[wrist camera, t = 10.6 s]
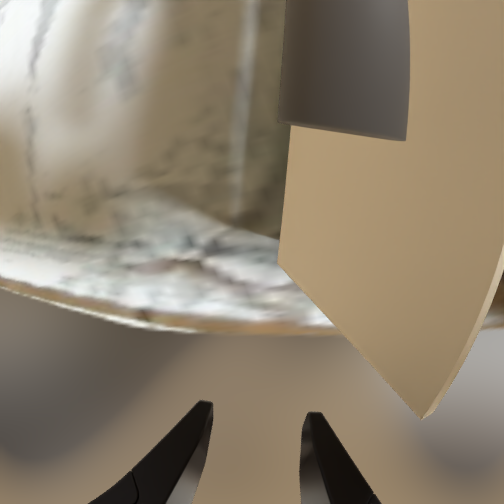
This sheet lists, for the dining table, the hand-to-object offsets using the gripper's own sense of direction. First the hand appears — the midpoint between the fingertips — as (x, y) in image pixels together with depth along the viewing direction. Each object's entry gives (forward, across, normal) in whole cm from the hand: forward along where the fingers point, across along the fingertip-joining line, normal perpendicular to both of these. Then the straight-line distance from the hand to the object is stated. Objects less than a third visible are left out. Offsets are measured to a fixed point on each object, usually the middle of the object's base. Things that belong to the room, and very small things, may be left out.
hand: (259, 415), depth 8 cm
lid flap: (+3, -3, -12) cm, 13 cm away
